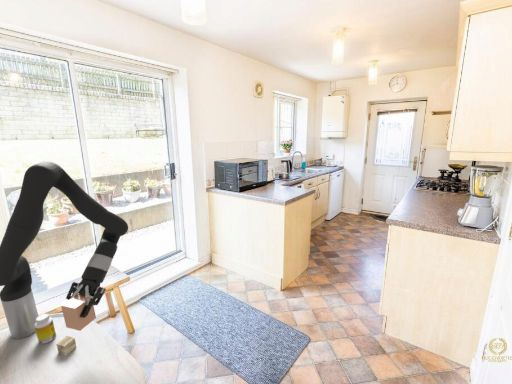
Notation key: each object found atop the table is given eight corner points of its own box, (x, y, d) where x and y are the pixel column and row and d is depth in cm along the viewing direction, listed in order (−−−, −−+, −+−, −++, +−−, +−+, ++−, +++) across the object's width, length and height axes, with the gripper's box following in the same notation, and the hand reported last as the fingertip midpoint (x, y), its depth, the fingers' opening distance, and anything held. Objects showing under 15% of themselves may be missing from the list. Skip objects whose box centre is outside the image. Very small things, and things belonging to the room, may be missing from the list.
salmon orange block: (66, 327, 90) (60, 305, 88) (82, 314, 96) (78, 294, 94) (80, 330, 88) (74, 308, 86) (96, 317, 94) (91, 296, 92)
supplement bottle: (56, 339, 102) (51, 317, 99) (38, 346, 98) (32, 324, 96) (56, 331, 106) (51, 310, 103) (38, 338, 102) (33, 316, 100)
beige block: (58, 352, 96) (56, 343, 95) (68, 344, 99) (66, 335, 98) (66, 355, 94) (64, 346, 93) (76, 346, 98) (74, 338, 97)
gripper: (75, 263, 96) (50, 310, 88) (105, 267, 92) (82, 318, 84) (90, 268, 103) (68, 313, 94) (119, 273, 99) (98, 320, 90)
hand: (74, 315), depth 89 cm, fingers closed on salmon orange block, 6 cm apart
